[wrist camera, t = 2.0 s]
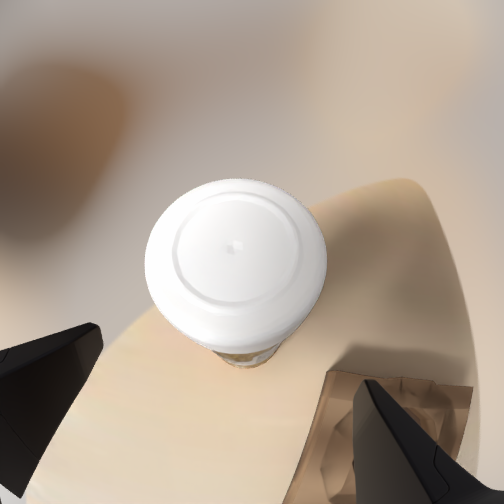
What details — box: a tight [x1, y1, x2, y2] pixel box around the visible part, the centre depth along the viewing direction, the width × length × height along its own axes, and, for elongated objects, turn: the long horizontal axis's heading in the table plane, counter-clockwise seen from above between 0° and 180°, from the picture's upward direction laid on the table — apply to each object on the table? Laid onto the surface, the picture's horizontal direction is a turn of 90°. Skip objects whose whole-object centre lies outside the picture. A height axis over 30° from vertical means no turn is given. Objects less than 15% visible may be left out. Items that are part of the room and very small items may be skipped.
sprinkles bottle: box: [145, 178, 327, 368], centre depth 12 cm, size 5×5×13 cm
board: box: [282, 370, 473, 504], centre depth 12 cm, size 16×12×2 cm
